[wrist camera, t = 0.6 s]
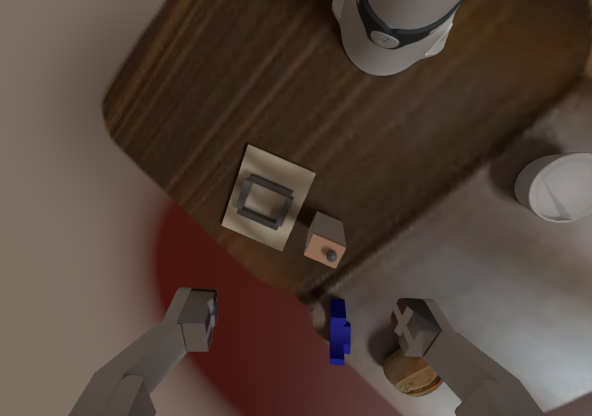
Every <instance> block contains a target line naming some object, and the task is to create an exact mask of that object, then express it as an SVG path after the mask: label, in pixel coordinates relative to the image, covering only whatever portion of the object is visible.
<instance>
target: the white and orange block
mask: <svg viewBox="0 0 592 416" xmlns="http://www.w3.org/2000/svg"><path fill="white" fill-rule="evenodd" d="M345 249H346V243H345V237H344V231H343V225H342V222H341V221H339V220H336V219H334V218H332V217H329V216H327V215H325V214H322V213H320V212H318V211H317V212H316V215H315V217H314V219H313V221H312V223H311V225H310V228H309V232H308V237H307V241H306V246H305V251H304V255H305V256H307V257H310V258H312V259H314V260H317V261H319V262H321V263H324V264H326V265H328V266H331V267H333V268H336V266H337V264H338V263H339V261H340V259H341V257H342V255H343V253H344V251H345Z"/></svg>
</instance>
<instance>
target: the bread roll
mask: <svg viewBox="0 0 592 416" xmlns="http://www.w3.org/2000/svg"><path fill="white" fill-rule="evenodd" d="M383 370H384V374H385V376H386V378H387V379H388V380H389V381H390V382H391V383H392V384H393V385H394V386H395V387H396V388H397V389H398V390H399V391H401V392H402V393H405V394H407V395H409V396H414V397H420V396H424V395H427V394H429V393H431V392H433V391H434V390H436V389H437V388H438V387H439V386H440V385H441V384H442V382H443V380H442V379H441V378H440V376H439V375H438V374H437V373H436V372H435V371H434V370H433V369H432V368H431V367H430V365H429V364H428V363H427V362H426V361H425V360H424V359H423V357H413V356H404V354H403V352H402V349H401V348H399V349H398V350H397V351H395V352H394V353H392V354H391V355H390V356H388V357H387V358H386V360H385V361H384V364H383Z"/></svg>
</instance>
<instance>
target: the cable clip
mask: <svg viewBox="0 0 592 416" xmlns="http://www.w3.org/2000/svg"><path fill="white" fill-rule="evenodd" d="M350 331H351V326H350V323H346V310H345V300H339V299H331V311H330V364H335V365H344V354H350V345H351V343H350Z"/></svg>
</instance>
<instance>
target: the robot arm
mask: <svg viewBox="0 0 592 416" xmlns="http://www.w3.org/2000/svg"><path fill="white" fill-rule="evenodd" d="M462 1H463V0H333V2H332V11H333V14H334V16H335V18H336V19H337V21H338V23H339V25H340V29H341V36H342V42H343V46H344V49H345V51H346V53H347V55H348V57H349V58H350V60H351V61H352V62H353V63H354V64H355V65H356V66H357V67H358V68H359V69H361V70H362V71H364V72H366V73H369V74H372V75H379V76H385V75H391V74H395V73H398V72H400V71H402V70H404V69H406V68H408V67H409V66H411V65H412V64H413V63H415V62H416V61H418V60H420V59H423V58H427V57H431V56H434V55H436V54H438V53H439V52H440V51H441V50H442V49H443V47H444V45H445V42H446V39H447V36H448V33H449V30H450V29H451V27H452V21H453V18H454V14H455V11H456V10H457V8H458V7H459V6H460V4H461V3H462ZM216 299H217V290H210V289H197V288H196V289H195V288H179V289H178V290H177V292H176V294H175V296H174V298H173V300H172V302H171V305H170V307H169V309H168V311H167V313H166V315H165V317H164V319H163V321H162V323H157V324H156V325H155V326H153V327H152V328H151V329H150V330H148V331H147V332H146V333H145V334H143V335H142V336H141V337H140V338H139V339H137V340H136V341H134V342H133V343H132V344H131V345H129V346H128V347H127V348H126V349H124V350H123V351H122V352H121V353H120V354H118V355H117V356H116V357H114V358H113V359H112V360H111V361H109V362H108V363H107V364H106V365H104V366H103V367H102V368H100V369H99V370H98V371H97V372H95V373H94V375H93V376H92V378H91V380H90V381H89V383H88V385H87V386H86V388H85V389H84V391H83V393H82V394H81V396H80V398H79V399H78V401H77V402H76V404H75V406H74V407H73V409H72V411H71V412H70V414H69V415H68V416H155V414H156V410H155V408H154V405H153V403H152V400H151V398H150V395H149V394H150V393H151V392H152V391H153V390H154V389H155V387H157V385H158V384H159V383H160V382H161V381H162V380H163V379H164V378H165V376H166V375H167V374H168V373H169V372H170V371H171V370H172V369H173V367H174V366H175V365H176V364H177V363H178V362H179V361H180V359H181V358H182V357H183V356H184V355H185V354H186V351H208V350H209V346H210V343H211V339H212V328H213V327H214V326H215V324H216V320H217V314H218V302H217V301H216ZM396 304H397V306H398V307H397V308H395V309H394V310H393V311H392V314H391V323H392V327H393V329H394V331H395V332H396V333H397V334H398V335H399V339H398V342H399V344H400V347H401V349H402V352H403V354H404V356H413V357H423V359H424V360H425V361H426V362H427V363H428V364H429V365H430V367H431V368H432V369H433V370H434V371H435V372H436V373H437V374H438V375H439V376H440V378H441V379H442V380H443V381H444V382H445V383H446V384H447V385H448V386H449V387H450V389H451V390H452V391H453V392H454V393H455V394H456V395H457V396H458V397H459V398H460V400H461V401H462V403H461V404H460V405H459V406H458V407H457V408H456V410H455V414H456V416H545V414H544V413H543V412H542V410H541V409H540V408H539V406H538V405H537V403H536V402H535V401H534V399H533V398H532V397H531V395H530V394H529V393H528V391H527V390H526V388H525V387H524V386H523V384H522V383H521V382H520V380H519V379H517V378H516V377H515V376H513V375H512V374H511V373H509V372H508V371H507V370H506V369H504V368H503V367H502V366H500V365H499V364H498V363H497V362H495V361H494V360H493V359H491V358H490V357H489V356H488V355H486V354H485V353H484V352H482V351H481V350H480V349H479V348H477V347H476V346H475V345H473V344H472V343H471V342H469V341H468V340H467V339H466V338H464V337H463V336H462V335H460V334H459V333H455V331H454V330H453V328H452V327H451V325H450V324H449V322H448V320H447V319H446V317H445V316H444V314H443V313H442V311H441V309H440V308H439V306H438V305H437V303H436V302H435V301H434V300H433V299H414V298H400V299H398V301H397V303H396Z"/></svg>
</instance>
